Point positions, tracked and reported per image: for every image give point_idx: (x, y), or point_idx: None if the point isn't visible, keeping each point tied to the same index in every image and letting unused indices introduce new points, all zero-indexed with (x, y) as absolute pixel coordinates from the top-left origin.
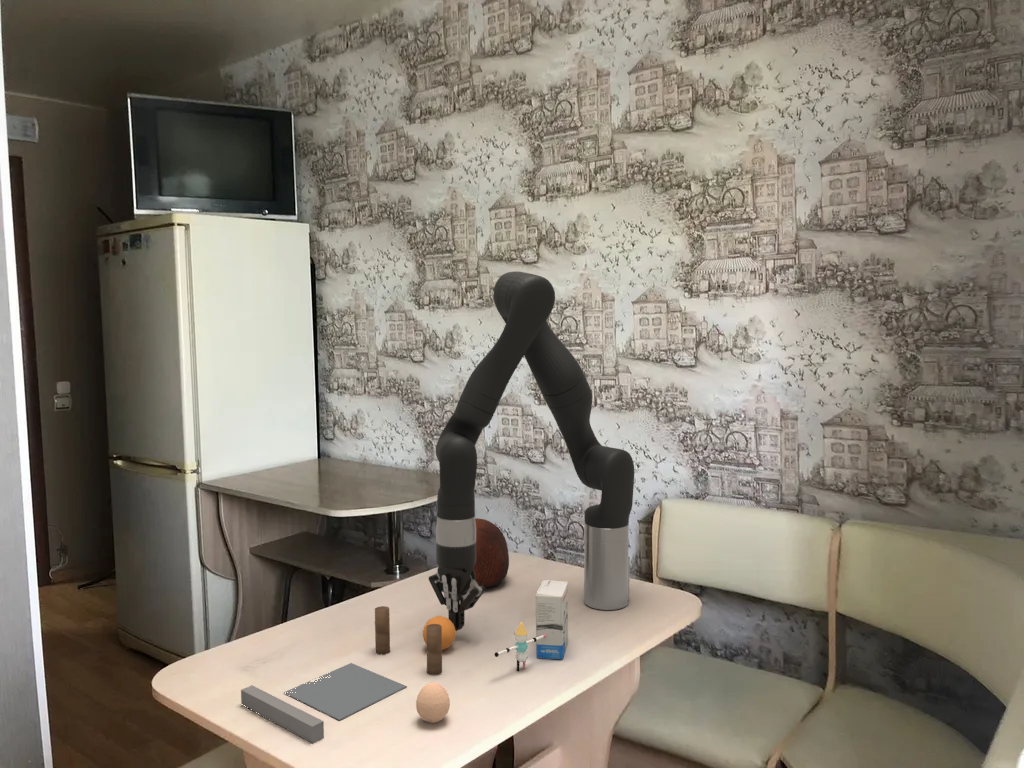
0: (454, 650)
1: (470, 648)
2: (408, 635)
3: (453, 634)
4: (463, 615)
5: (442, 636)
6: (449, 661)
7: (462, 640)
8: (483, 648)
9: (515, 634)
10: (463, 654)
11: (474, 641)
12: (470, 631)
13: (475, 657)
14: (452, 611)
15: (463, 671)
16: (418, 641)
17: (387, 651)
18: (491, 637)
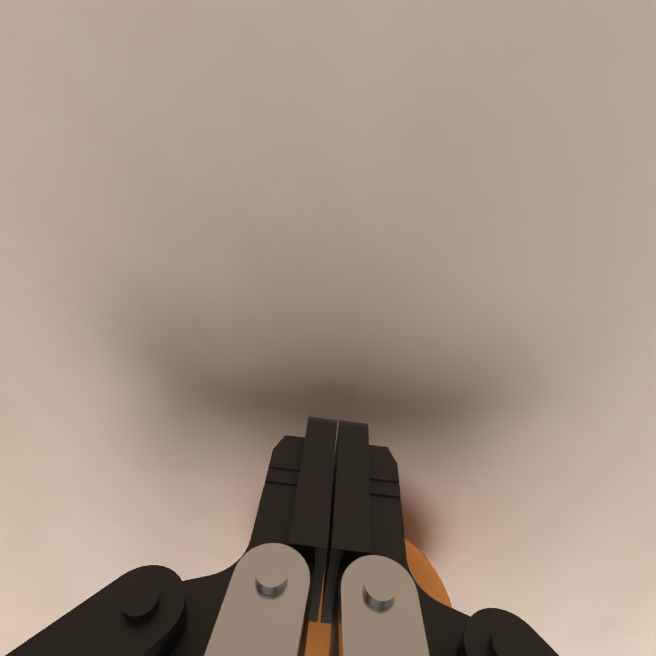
0: (431, 520)
1: (502, 472)
2: (97, 493)
3: None
4: (400, 538)
5: None
6: (476, 598)
7: (395, 415)
8: (580, 442)
9: None
10: (502, 533)
11: (475, 393)
12: (354, 279)
13: (582, 534)
14: (315, 618)
15: (587, 633)
16: (198, 519)
17: None
18: (561, 286)
